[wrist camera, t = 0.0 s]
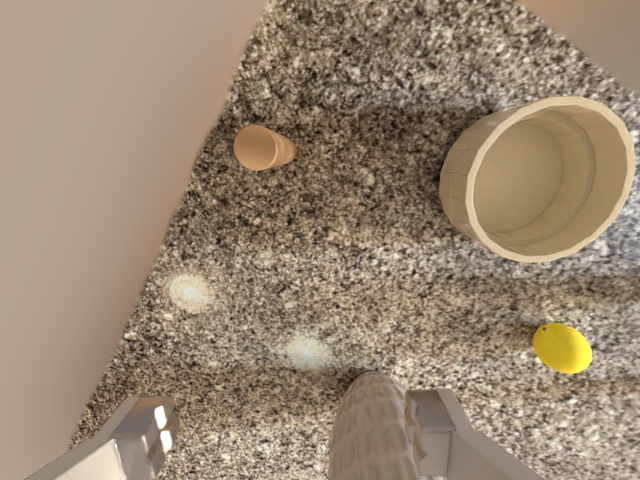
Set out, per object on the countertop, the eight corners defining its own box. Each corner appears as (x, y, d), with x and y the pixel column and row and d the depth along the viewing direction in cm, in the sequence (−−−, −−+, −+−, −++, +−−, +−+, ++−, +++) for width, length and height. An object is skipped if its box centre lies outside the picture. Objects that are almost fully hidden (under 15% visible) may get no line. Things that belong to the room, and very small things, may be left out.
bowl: (441, 111, 31) (474, 100, 24) (582, 105, 30) (655, 91, 24) (432, 243, 35) (458, 265, 28) (556, 239, 34) (612, 260, 28)
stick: (269, 137, 32) (230, 125, 18) (295, 136, 31) (275, 123, 18) (272, 164, 32) (235, 171, 19) (297, 163, 32) (278, 169, 19)
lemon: (576, 339, 38) (616, 368, 33) (539, 362, 39) (572, 394, 34) (548, 303, 37) (585, 328, 32) (511, 328, 38) (540, 356, 33)
